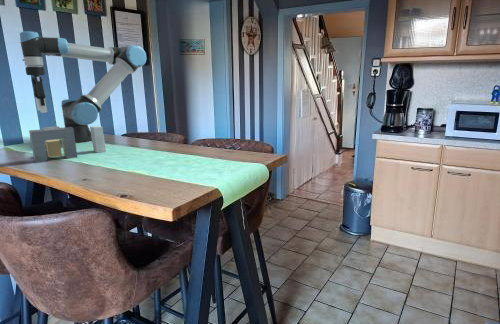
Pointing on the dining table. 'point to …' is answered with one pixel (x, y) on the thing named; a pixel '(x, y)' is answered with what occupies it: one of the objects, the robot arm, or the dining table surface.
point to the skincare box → (97, 139)
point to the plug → (53, 148)
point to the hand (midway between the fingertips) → (42, 111)
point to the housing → (51, 134)
